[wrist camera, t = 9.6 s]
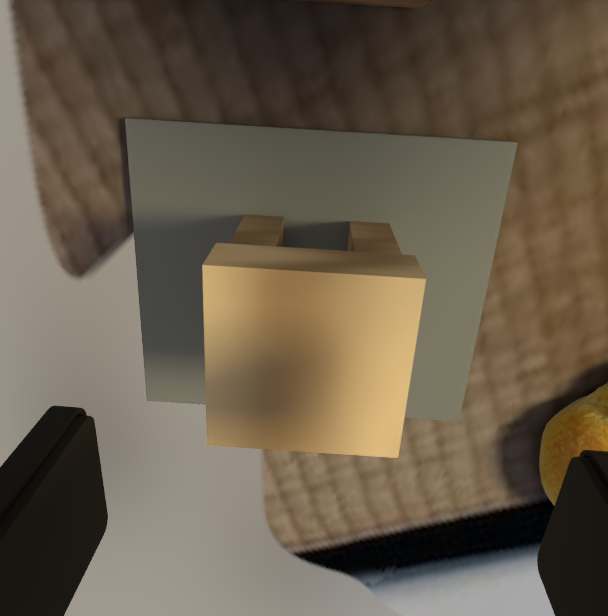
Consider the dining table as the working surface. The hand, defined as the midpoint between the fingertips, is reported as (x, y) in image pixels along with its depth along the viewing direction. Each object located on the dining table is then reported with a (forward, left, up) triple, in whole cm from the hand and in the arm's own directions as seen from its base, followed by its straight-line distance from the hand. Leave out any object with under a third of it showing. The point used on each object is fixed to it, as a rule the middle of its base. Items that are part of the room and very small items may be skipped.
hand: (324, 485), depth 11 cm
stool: (0, 0, -12) cm, 12 cm away
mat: (+1, 0, -12) cm, 12 cm away
